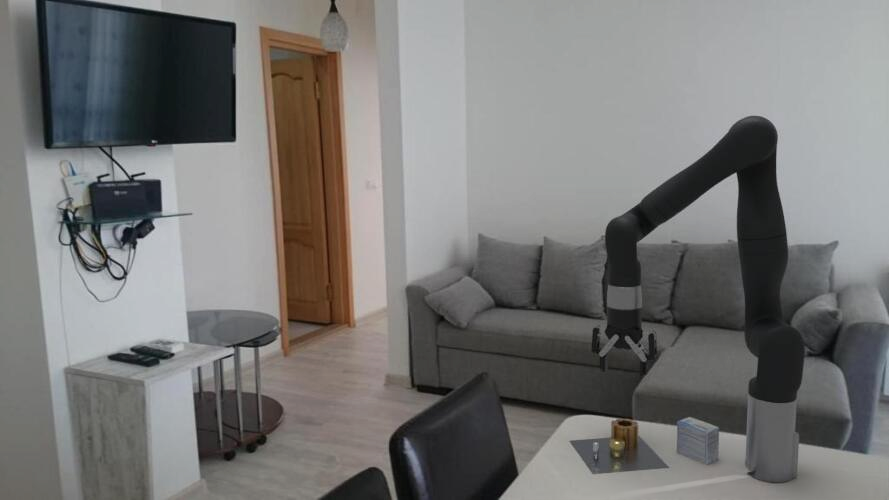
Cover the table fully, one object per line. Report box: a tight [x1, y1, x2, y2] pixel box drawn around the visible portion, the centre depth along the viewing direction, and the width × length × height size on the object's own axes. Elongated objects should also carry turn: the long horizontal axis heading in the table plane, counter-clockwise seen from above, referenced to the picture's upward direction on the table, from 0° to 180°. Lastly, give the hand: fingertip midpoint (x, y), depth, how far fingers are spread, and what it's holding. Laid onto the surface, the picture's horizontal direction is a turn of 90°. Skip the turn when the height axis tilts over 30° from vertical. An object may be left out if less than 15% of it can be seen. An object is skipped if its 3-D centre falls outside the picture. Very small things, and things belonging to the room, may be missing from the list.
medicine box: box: [676, 416, 720, 465], centre depth 155 cm, size 8×4×9 cm, turn 34°
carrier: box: [569, 434, 670, 475], centre depth 157 cm, size 17×17×5 cm
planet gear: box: [610, 418, 639, 450], centre depth 162 cm, size 6×6×5 cm
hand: (623, 373), depth 159 cm, fingers open, 8 cm apart
